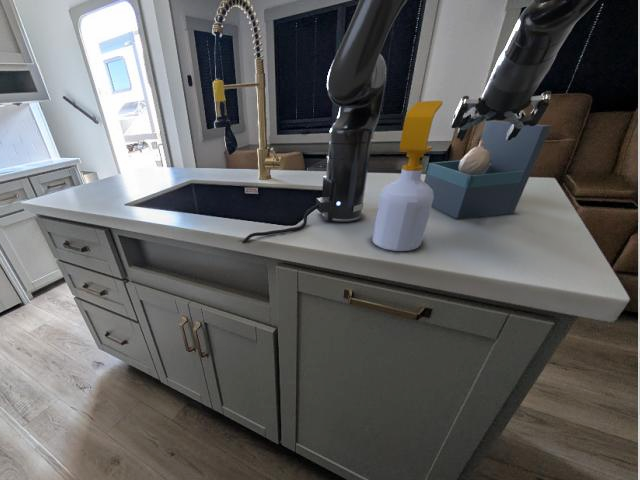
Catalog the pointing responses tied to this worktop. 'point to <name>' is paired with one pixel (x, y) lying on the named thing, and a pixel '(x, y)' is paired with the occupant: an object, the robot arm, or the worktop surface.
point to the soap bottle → (408, 187)
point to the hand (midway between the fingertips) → (484, 137)
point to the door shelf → (488, 174)
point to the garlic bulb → (476, 161)
